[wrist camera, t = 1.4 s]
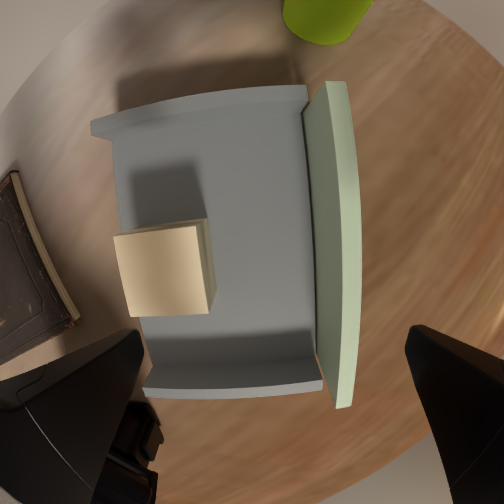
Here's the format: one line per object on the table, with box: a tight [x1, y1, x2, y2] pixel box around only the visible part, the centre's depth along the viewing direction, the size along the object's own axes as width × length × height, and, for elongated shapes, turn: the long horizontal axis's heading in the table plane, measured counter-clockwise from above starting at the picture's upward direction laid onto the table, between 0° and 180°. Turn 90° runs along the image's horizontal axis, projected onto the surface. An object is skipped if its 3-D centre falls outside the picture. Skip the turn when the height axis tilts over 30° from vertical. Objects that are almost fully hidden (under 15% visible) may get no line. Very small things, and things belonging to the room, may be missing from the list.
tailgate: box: [302, 81, 362, 409], centre depth 16 cm, size 1×18×7 cm, turn 6°
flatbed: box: [91, 85, 323, 399], centre depth 18 cm, size 13×20×4 cm, turn 6°
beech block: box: [113, 218, 217, 317], centre depth 17 cm, size 5×5×4 cm
